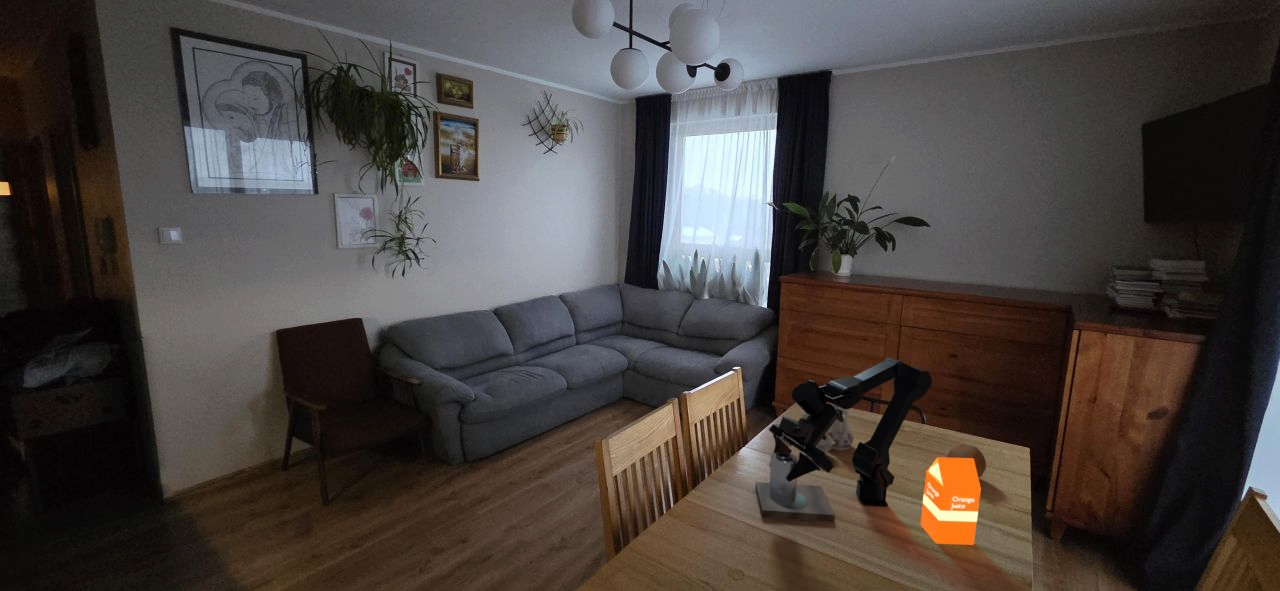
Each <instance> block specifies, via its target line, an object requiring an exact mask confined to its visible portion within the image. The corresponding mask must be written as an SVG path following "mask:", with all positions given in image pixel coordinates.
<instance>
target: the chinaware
mask: <svg viewBox="0 0 1280 591" xmlns="http://www.w3.org/2000/svg"><path fill="white" fill-rule="evenodd" d="M830 404H831V405H833V406H834V407H835V409H836V408H837V409H839V410H841V411H843V413H842V414H843V420H844V421H843V422H840V421H838V420H836V421H835V422H834V423H833V425H832V426H831V427H830V429H829V430H828V431H827V432H826V434H825V436H826V437H827V439H826V440H825V441H824V440H823V439H821V440H820V442H819V443H818V444H817V445H816V448H818V449H819V450H821V451H823V452H824V453H825V454H826V455H827V454H828V453H829V452H830V451H831V450H834V451H846V450H849V449H850V447H851V445H852V444H853V442H854V439H855V438H854V435H853V433H852V431H851V430H850V427H849V424H848V412H849V410H850V409H843V408H841V407H839V406H836V405H834V404H832V403H830ZM808 415H809V414H807V413H804V414H802V416H801V417H800V419H801V418H804V419H806V418H807V417H808Z"/></svg>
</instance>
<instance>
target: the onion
mask: <svg viewBox="0 0 1280 591" xmlns="http://www.w3.org/2000/svg"><path fill="white" fill-rule="evenodd" d="M946 458H974V462H975V466H976V471H977V475H978V479H980V478H981V477H982V476H983V475H984V473H985V471H986V468H987V461H986V458H985V456H984V454H983V453H982V452H981V450H980V449H979V448H977V447H976V446H974V445H970V444H966V443H965V444H964V443H963V444H957V445H955V446H953V447H951V449H950V450H949V451H948V453H947V457H946Z"/></svg>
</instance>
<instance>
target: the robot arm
mask: <svg viewBox="0 0 1280 591" xmlns="http://www.w3.org/2000/svg"><path fill="white" fill-rule="evenodd" d="M891 380H893V382H892V383H893V395H892V397H891V399H890V400H889V403H888V405H887V406H886V409H885V410H884V412H883V415H881V418H880V420H879V422H878V424H877V426H876V428H875V429H874V432H873V434H872V435H871V437H870V439H869V440H868V441H866V442H862V441H859V443H858V444H857V446H856V449H855V451H854V452H853V453H852V457H851V462H852V467H853V469H854V471H855V472H854V473H855V474H858V475H859V479H858V480H857V481H856V491H855V494H856V496H857V498H858V499H859V500H860V502H861V503H862V505H863V506H875V507H888V506H889V504H888V502H887V501H886V499H887V490H888V488H889V487H890V486H891V485H893V483H894V481H895V475H894V474H892V472H891V471H890V470H889V469H888V468H889V466H890V462H891V460H890V458H891V457H890V448H891V446H892V445H893V443H894V440H895V439H896V436H897V434H898V432H899V431H900V429H901V427H902V425H903V423H904V421H905V419H906V417H907V415H908V414H909V411H910V409H911V407H912V405H913V404H914V402H916V401H918V400H919V399H921V398H923V397H924V396H925V395H926V394H927V392H928V390H930V388H931V386H932V383H933V379H932V376H931V373H930V372H929V371H927V370H925V369H921V368H918V367H916V366H912V365H909V364H907V363H905V362H904V361H902V360H899V359H897V358H896V359H895V358H893V357H887V358H885V359H883V361H881V362H879V363H878V364H876V365H874V366H872V367H870V368H868V369H865V370H864V371H861V372H860V373H858V374H856V375H854V376H851V377H841V378H837V379H833V380H830V381H828V382H827V383H826V384H824V385H821V386H819V385H818V384H817V383H816V381H814V380H812V379H808V381H807V382H804V383H801V384H799V385H797V386H795V387H794V388H793V390H792V392H791V399H792V400H793V401H794V402H795V403H796V404H797V406H798V407H800V409H802V411H803V412H804V414H809V415H808V417H807V418H806V419H804V418H801V417H800V418H799V419H798V421H797V420H795V419H791V418H790V417H787V416H784V415H783V416H782V418H781V420H780V422H779V423H773V424H772V425H771V426H770V427H769V428H768V431H769V432H770V433H771V434H772V437H773V439H774V445H775V446H774V450H773V453H776V452H786V453H790V454H792V453H793V450H792V449H791V448H789V447H791V446H793V447H794V448H795V449H798V450H799V451H800V452H799V454H798V462H797V463H796V465H795V466H794V467H793V469H792V470H791V471H790V473H789V474H788V476H787V478H786V479H787V480H788V481H792V480H794V479H796V478H797V479H798V478H800V477H803V476H805V475H807V474H809V473H812V472H817V471H818V472H820V471H821V470H823V471H824V472H826V473H827V474H829V473H830V472H831V471H832V470H833V469H834V461H833V460H832V459H831V458H830V457H829V456H828V455H827V454H825V453H824V452H823V451H821V450H819V449H818V448H816V445H817V444H818V443H819V442H820V440H821V439H823V440H824V441H825V440H826V439H827V437H826V436H825V434H826V432H827V431H828V430H829V429H830V427H831V426H832V425H833V423H834V422H835V421H836V420H838V421H840V422H843V421H844V420H843V414H842V413H843V411H841V410H839V409H837V408H836V409H835V407H834V406H833V405H831V404H834V405H836V406H839V407H841V408H843V409H849V410H850V409H852V408H853V407H854V406H856V405H858V403H860V402H861V401H862V398H863V395H865V394H866V393H868V392H870V391H872V390H874V389H876V388H878V387H879V386H882V385H883V384H886V383H888V382H890V381H891ZM803 453H804V454H803ZM770 463H771V461H770ZM770 463H769V464H768V466H769V467H770Z"/></svg>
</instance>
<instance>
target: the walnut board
mask: <svg viewBox="0 0 1280 591" xmlns="http://www.w3.org/2000/svg"><path fill="white" fill-rule="evenodd" d="M754 489H755V493H756V497H757V501H758V502H757V503H758V505H759V510H760V514H761V518H766V519H767V518H768V519H779V518H781V519H782V520H783V519H784V520H794V519H801V520H800V521H809V520H817V521H816V522H824V521H826V522H827V523H835V520H836V514H835V512H834V510H833V507H832V506H831V503H830V501H829V500H828V497H827V495H826V493H825V491H824V489H823V487H822V485H814V484H812V485H810V484H798V483H797V484H796V501H795V502H794V503H792V504H787V505H785V504H779V503H776V502H774V501H772V500H771V499H770V497H769V489H770V482H761V481H755V488H754ZM826 522H825V523H826Z"/></svg>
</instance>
